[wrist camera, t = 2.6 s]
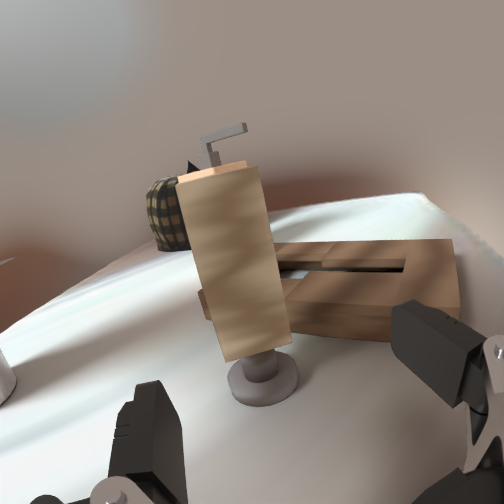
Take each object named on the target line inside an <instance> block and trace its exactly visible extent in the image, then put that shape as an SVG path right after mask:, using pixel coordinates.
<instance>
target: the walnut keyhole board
mask: <svg viewBox="0 0 504 504" xmlns="http://www.w3.org/2000/svg"><path fill="white" fill-rule="evenodd" d="M273 244H274V249H275V254H276V259H277V264H278V269H287V270H352V271H403V273H363V272H309V273H308V274H307V275H306V276H305V277H304V278H303V279H290V278H280V279H281V284H282V289H283V295H284V300H285V305H286V310H287V316H288V321H289V327H290V332H293V333H301V334H310V335H318V336H328V337H337V338H348V339H359V340H371V341H385V342H391V311H392V308H393V307H394V306H395V305H398V304H400V303H402V302H404V301H407V300H409V299H415V300H416V301H418V302H420V303H421V304H423V305H425V306H429V307H432V308H436V309H440V310H442V311H443V312H445V313H447V314H448V315H450V317H453V318H455V319H457V320H458V322H459V317H460V309H461V305H460V294H459V285H458V276H457V269H456V262H455V255H454V249H453V243H452V239H422V240H376V241H335V242H298V243H273ZM198 295H199V298H200V301H201V304H202V308H203V311H204V314H205V317H206V319H208V320H212V318H211V315H210V311H209V308H208V305H207V301H206V298H205V295H204V291H203V289H201V290H200V291H198Z"/></svg>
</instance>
